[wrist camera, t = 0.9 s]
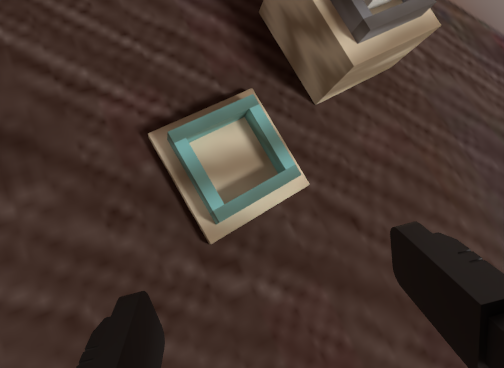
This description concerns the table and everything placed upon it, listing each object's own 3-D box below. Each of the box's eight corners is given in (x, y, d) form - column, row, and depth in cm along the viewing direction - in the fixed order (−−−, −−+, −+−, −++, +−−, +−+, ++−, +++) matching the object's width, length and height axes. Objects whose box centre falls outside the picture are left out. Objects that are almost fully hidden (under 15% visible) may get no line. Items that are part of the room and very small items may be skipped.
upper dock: (258, 12, 38) (290, -69, 29) (338, -16, 42) (389, -93, 33) (315, 105, 37) (367, 53, 28) (390, 67, 42) (457, 11, 32)
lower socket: (148, 137, 31) (146, 125, 28) (249, 92, 35) (257, 78, 33) (209, 244, 31) (214, 243, 28) (305, 186, 35) (318, 180, 32)
